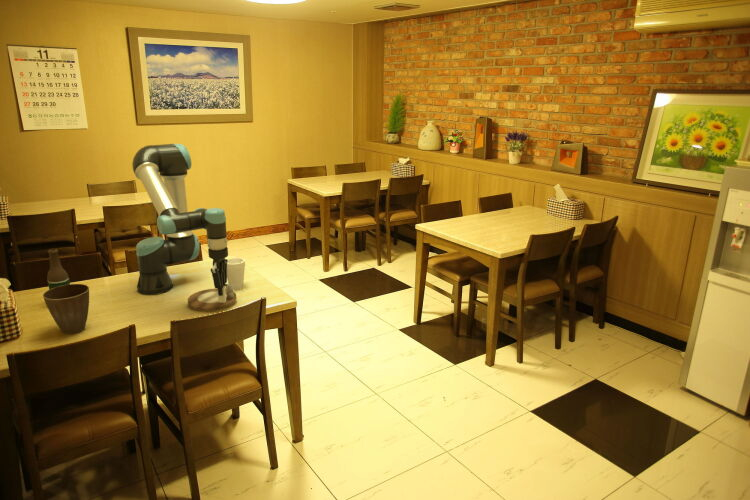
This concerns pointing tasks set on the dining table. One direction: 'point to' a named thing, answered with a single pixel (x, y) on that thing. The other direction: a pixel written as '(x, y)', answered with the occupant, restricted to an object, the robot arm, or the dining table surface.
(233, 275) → the foam cup
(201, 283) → the dining table surface
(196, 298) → the turntable
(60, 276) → the beer bottle
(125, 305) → the dining table surface
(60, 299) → the plant pot
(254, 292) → the dining table surface
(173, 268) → the dining table surface
